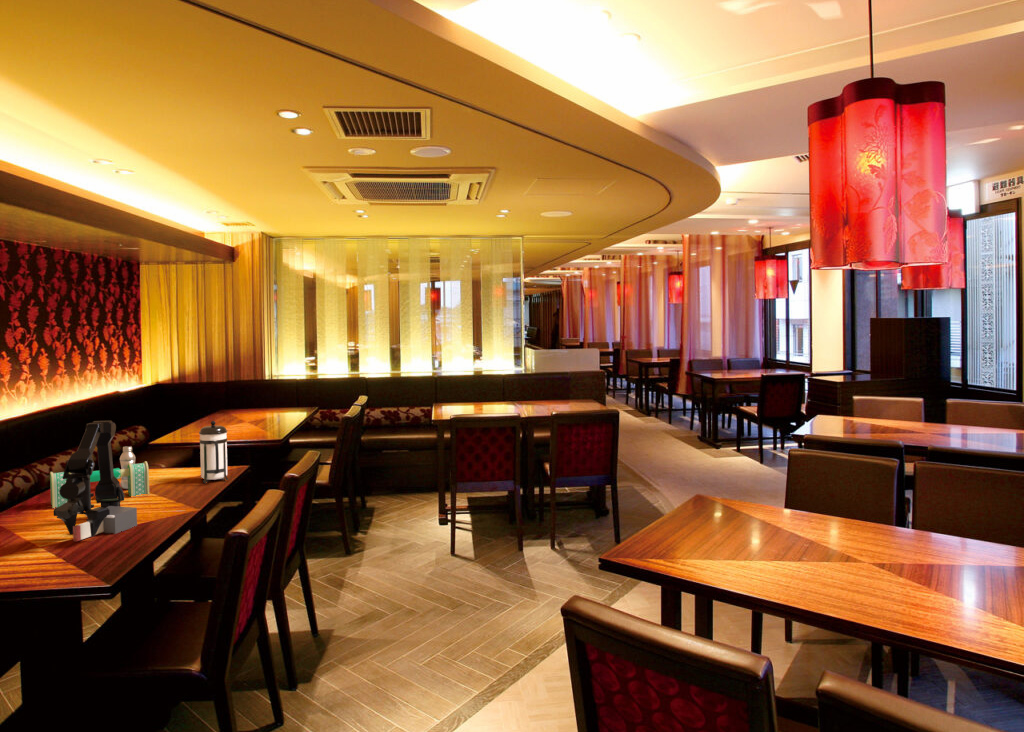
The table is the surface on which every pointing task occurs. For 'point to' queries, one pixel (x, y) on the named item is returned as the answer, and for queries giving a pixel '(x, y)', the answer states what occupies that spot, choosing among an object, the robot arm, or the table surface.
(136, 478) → the decorative scroll
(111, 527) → the block
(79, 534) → the white bar pink end
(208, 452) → the coffee press
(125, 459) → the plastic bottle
